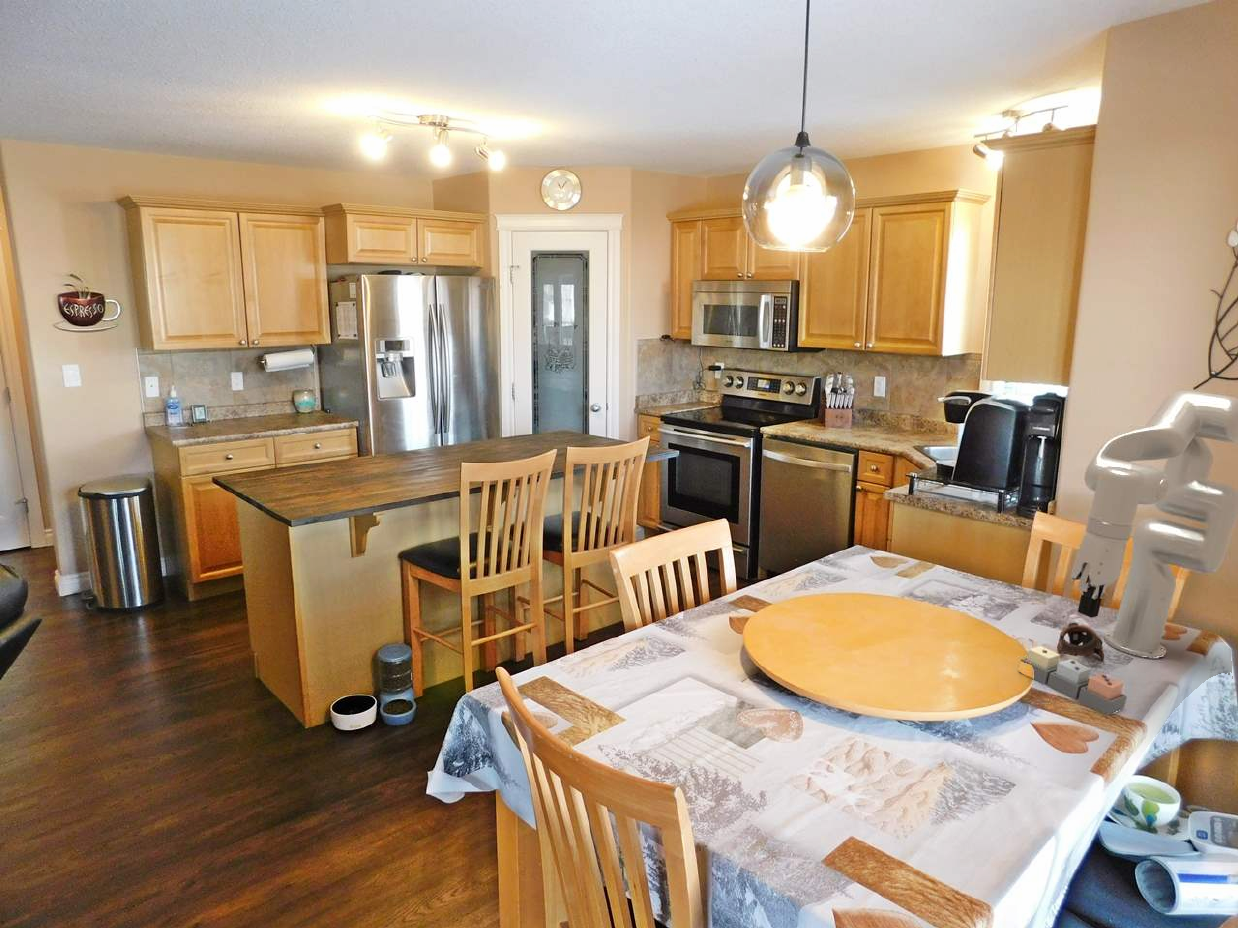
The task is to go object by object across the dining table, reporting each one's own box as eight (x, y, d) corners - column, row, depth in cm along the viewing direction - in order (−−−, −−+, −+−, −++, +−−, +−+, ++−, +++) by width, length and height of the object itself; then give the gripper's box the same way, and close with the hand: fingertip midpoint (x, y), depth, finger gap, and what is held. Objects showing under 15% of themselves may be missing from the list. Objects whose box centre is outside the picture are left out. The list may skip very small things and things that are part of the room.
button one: (1036, 662, 176) (1041, 644, 175) (1056, 671, 172) (1060, 653, 171) (1025, 666, 174) (1029, 648, 172) (1044, 675, 170) (1049, 657, 169)
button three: (1096, 691, 165) (1101, 672, 164) (1119, 701, 162) (1124, 682, 161) (1085, 695, 163) (1090, 676, 162) (1107, 706, 159) (1112, 686, 158)
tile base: (1093, 694, 167) (1096, 681, 166) (1123, 709, 162) (1127, 695, 161) (1077, 701, 164) (1080, 687, 163) (1107, 715, 159) (1111, 702, 158)
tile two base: (1062, 680, 172) (1065, 667, 171) (1091, 693, 167) (1094, 680, 166) (1046, 685, 169) (1050, 672, 168) (1075, 699, 164) (1078, 686, 163)
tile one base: (1034, 666, 177) (1036, 654, 177) (1060, 679, 172) (1063, 666, 172) (1018, 671, 174) (1021, 659, 173) (1044, 684, 169) (1047, 671, 168)
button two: (1066, 676, 171) (1070, 657, 170) (1086, 686, 167) (1091, 667, 166) (1054, 680, 168) (1058, 661, 167) (1075, 690, 165) (1079, 671, 164)
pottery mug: (1114, 670, 180) (1109, 643, 177) (1069, 680, 183) (1063, 654, 179) (1091, 634, 191) (1085, 608, 188) (1049, 644, 193) (1042, 619, 190)
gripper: (1109, 519, 167) (1088, 602, 171) (1069, 526, 159) (1048, 612, 163) (1147, 531, 160) (1125, 616, 165) (1107, 538, 152) (1085, 628, 157)
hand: (1087, 614), depth 164 cm, fingers closed
